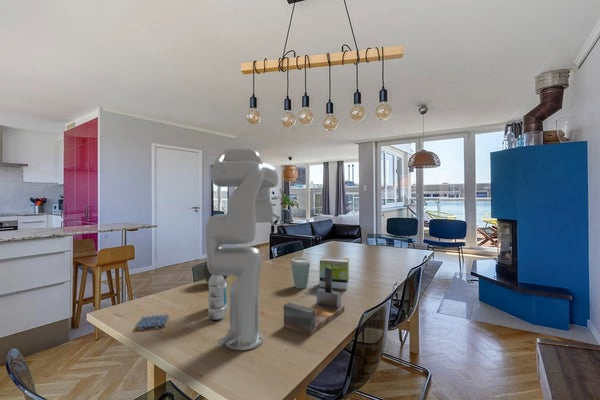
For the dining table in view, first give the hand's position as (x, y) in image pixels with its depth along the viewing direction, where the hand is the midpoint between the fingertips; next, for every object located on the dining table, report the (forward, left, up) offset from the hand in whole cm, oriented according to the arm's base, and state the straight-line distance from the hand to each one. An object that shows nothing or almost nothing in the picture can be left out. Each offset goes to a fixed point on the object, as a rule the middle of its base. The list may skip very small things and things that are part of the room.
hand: (262, 234), depth 137 cm
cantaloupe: (0, +35, -31) cm, 46 cm away
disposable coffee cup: (+23, -6, -31) cm, 39 cm away
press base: (-6, -34, -30) cm, 46 cm away
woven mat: (-46, +14, -31) cm, 57 cm away
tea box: (+35, -20, -31) cm, 51 cm away
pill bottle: (-22, +6, -31) cm, 38 cm away
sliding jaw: (+4, -34, -28) cm, 45 cm away
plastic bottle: (-29, -2, -31) cm, 42 cm away
